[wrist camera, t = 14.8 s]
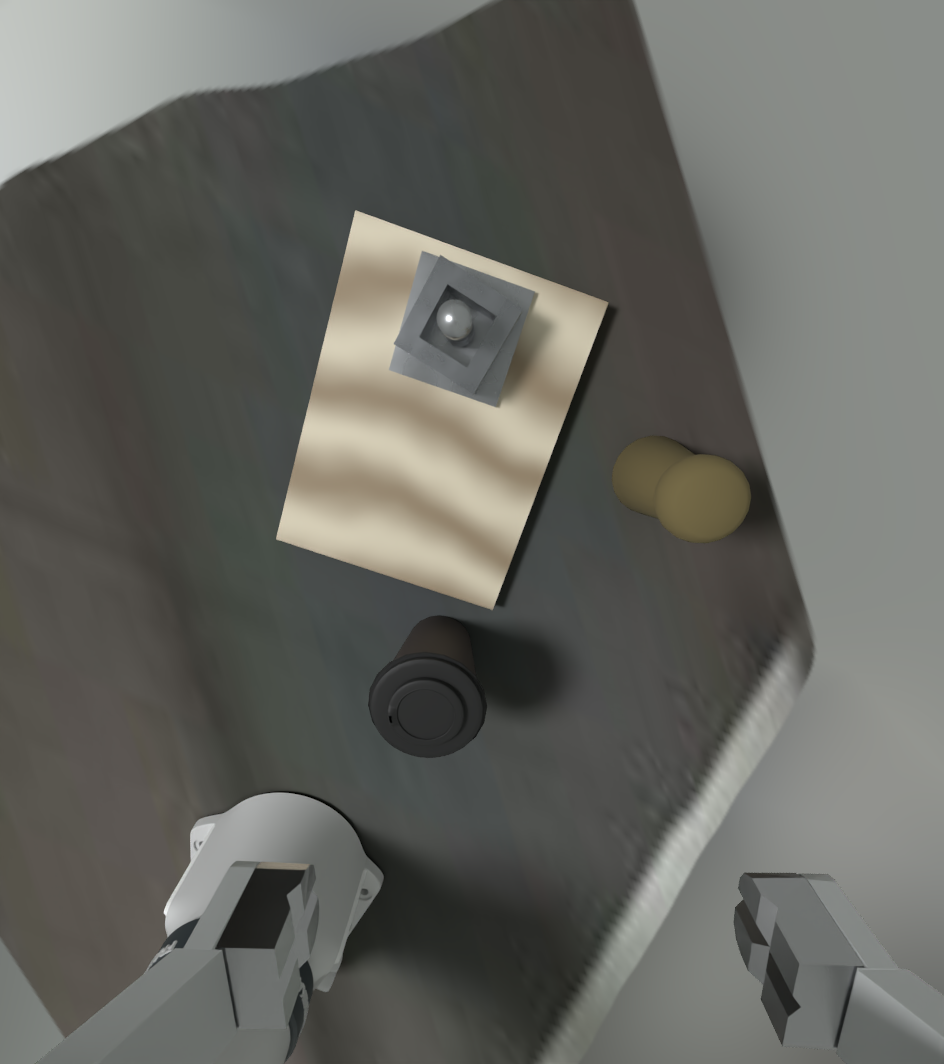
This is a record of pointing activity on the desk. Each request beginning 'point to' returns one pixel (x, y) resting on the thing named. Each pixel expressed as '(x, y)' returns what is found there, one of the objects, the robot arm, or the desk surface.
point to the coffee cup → (430, 692)
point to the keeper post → (462, 334)
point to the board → (428, 428)
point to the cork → (682, 489)
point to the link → (476, 295)
